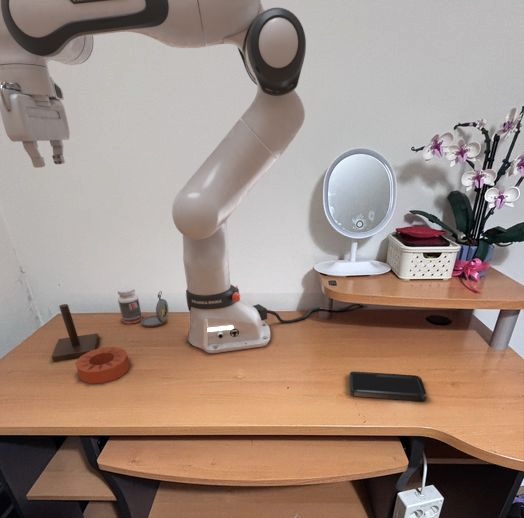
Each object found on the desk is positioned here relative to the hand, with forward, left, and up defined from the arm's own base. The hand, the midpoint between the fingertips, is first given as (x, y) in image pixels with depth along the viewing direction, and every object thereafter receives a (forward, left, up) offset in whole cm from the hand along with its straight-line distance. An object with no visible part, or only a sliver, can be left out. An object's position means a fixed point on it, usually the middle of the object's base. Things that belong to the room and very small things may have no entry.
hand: (50, 165), depth 80 cm
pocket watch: (-13, -12, -44) cm, 47 cm away
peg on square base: (+5, +2, -44) cm, 44 cm away
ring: (-6, +13, -44) cm, 46 cm away
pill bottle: (-5, -15, -44) cm, 46 cm away
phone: (-69, +25, -44) cm, 86 cm away
